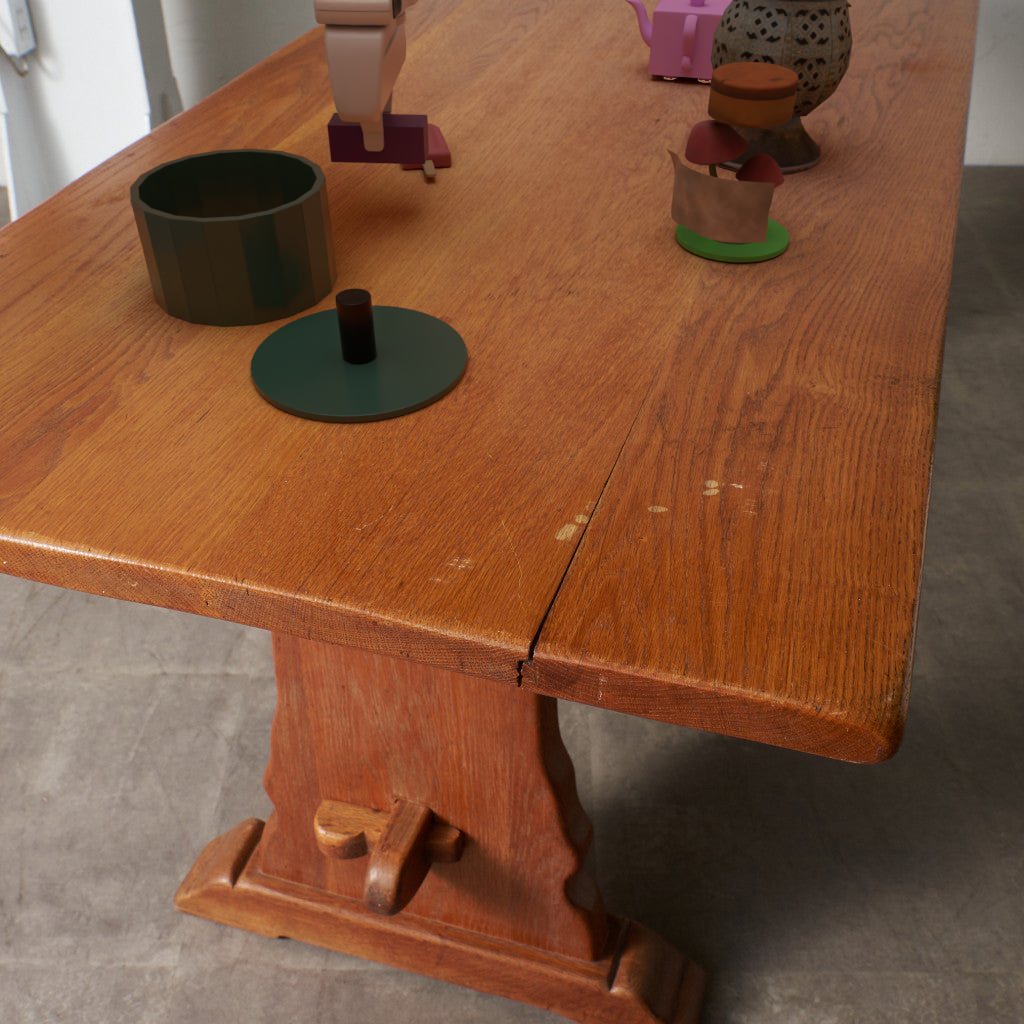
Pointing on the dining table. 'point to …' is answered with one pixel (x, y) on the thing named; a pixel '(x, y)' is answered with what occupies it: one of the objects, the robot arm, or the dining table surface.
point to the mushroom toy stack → (744, 203)
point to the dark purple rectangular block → (401, 140)
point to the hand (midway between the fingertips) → (379, 139)
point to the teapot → (680, 36)
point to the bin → (236, 236)
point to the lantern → (787, 66)
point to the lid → (359, 362)
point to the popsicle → (434, 153)
